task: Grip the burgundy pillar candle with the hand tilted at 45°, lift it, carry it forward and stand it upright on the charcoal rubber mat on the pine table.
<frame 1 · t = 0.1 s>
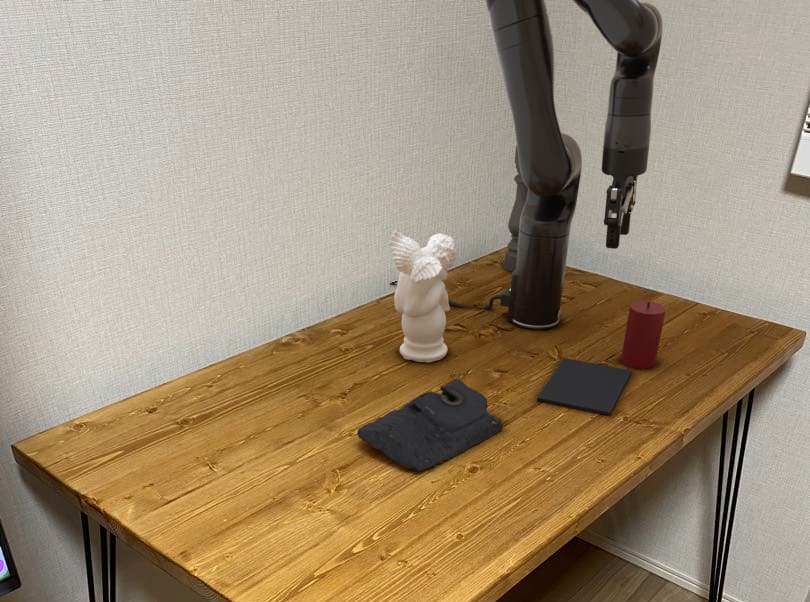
hand: (617, 240, 157), 17 cm above the table, tool pointing down, fingers open, 8 cm apart
candle: (637, 361, 157), on the table
candle holder: (518, 268, 196), on the table
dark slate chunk: (428, 434, 135), on the table
mat: (585, 386, 148), on the table
cherub figurine: (423, 358, 157), on the table
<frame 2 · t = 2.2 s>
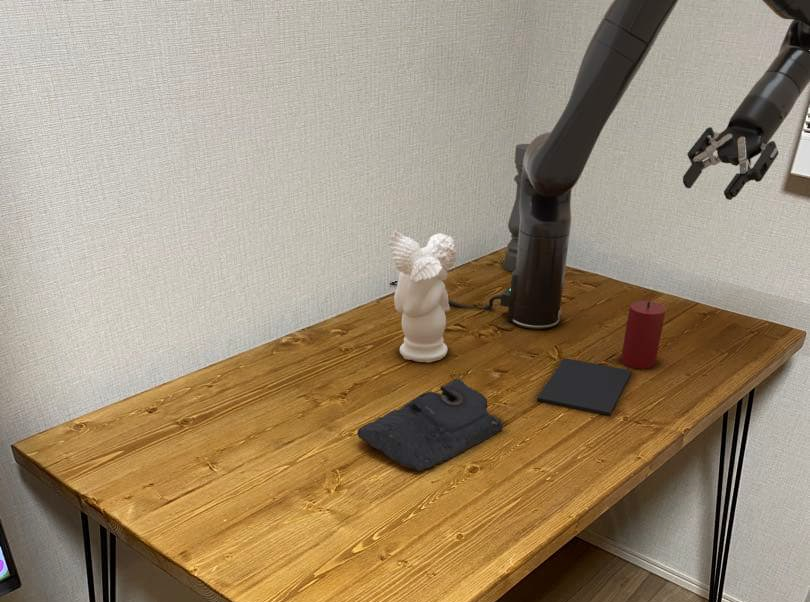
hand: (706, 190, 149), 27 cm above the table, tool tilted 45°, fingers open, 8 cm apart
nothing on the table moved.
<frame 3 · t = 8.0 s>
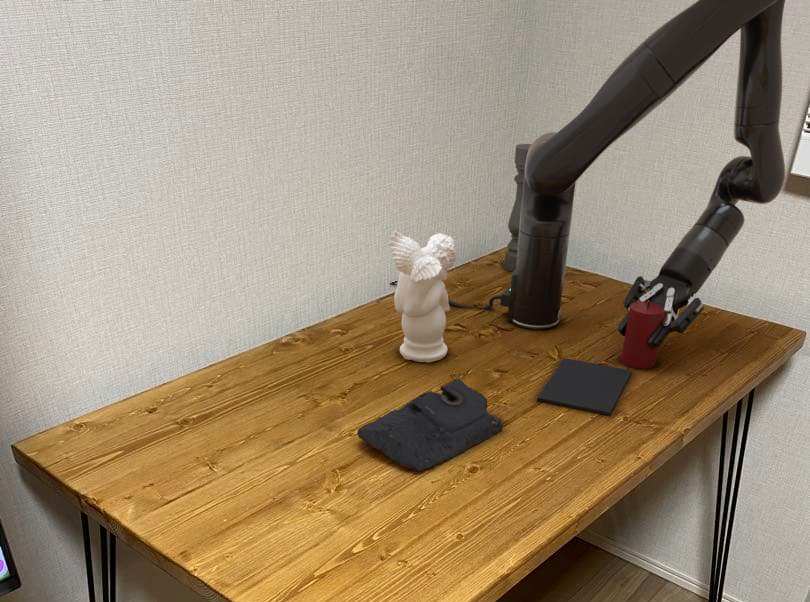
hand: (635, 339, 153), 5 cm above the table, tool tilted 45°, fingers closed on candle, 6 cm apart
candle: (637, 361, 157), on the table, touching gripper
everything else where it was.
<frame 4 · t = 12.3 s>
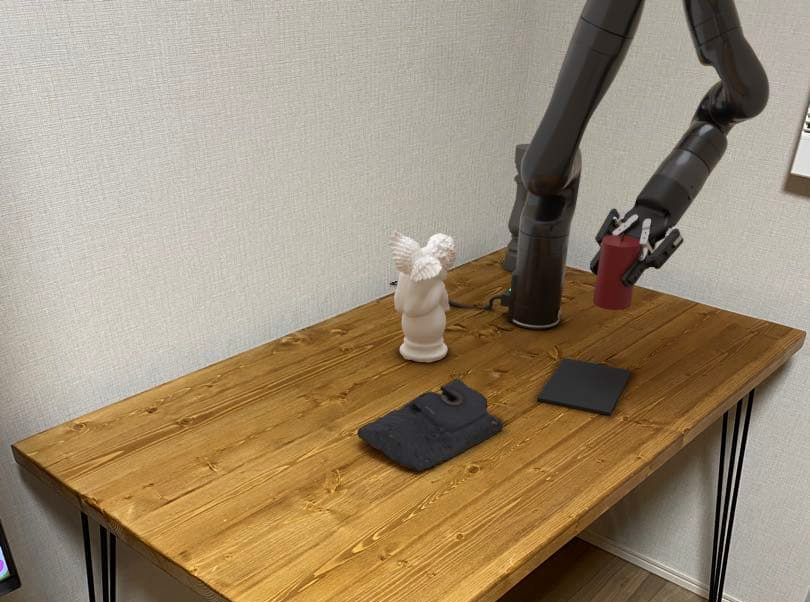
hand: (609, 277, 139), 18 cm above the table, tool tilted 45°, fingers closed on candle, 6 cm apart
candle: (611, 303, 142), point 14 cm above the table, touching gripper
everything else where it was.
when the fingers open (5 cm above the table, at t = 16.8 s): candle stays where it is, resting on mat.
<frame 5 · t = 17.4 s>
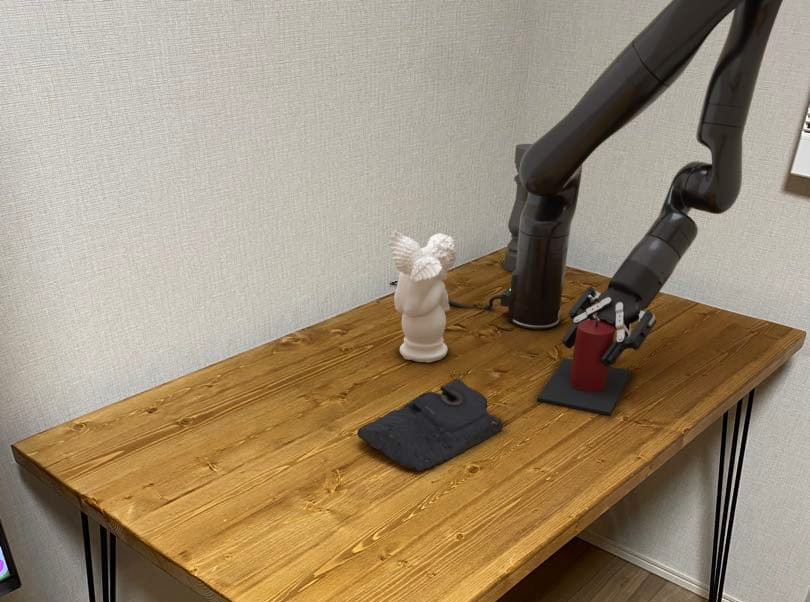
hand: (584, 354, 144), 6 cm above the table, tool tilted 45°, fingers open, 8 cm apart
candle: (587, 383, 148), point 1 cm above the table, touching mat
everything else where it was.
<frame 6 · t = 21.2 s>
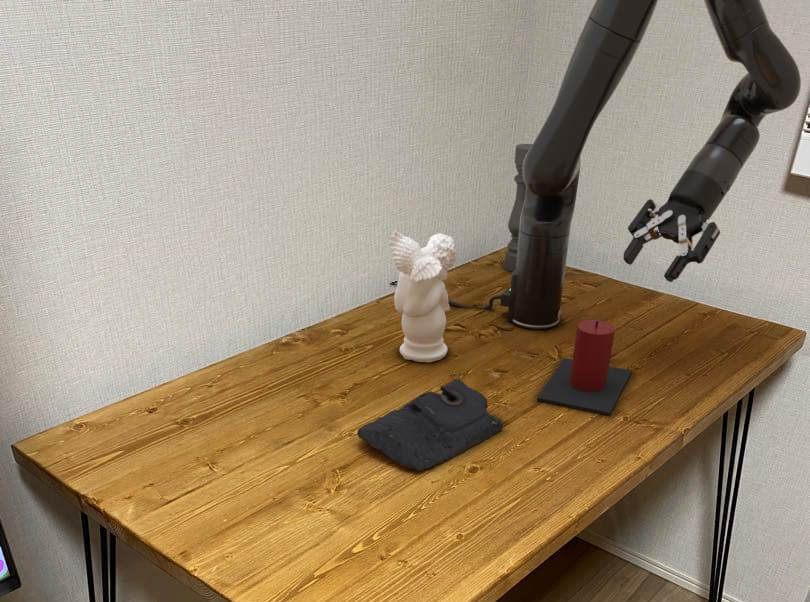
hand: (646, 270, 144), 17 cm above the table, tool tilted 40°, fingers open, 8 cm apart
nothing on the table moved.
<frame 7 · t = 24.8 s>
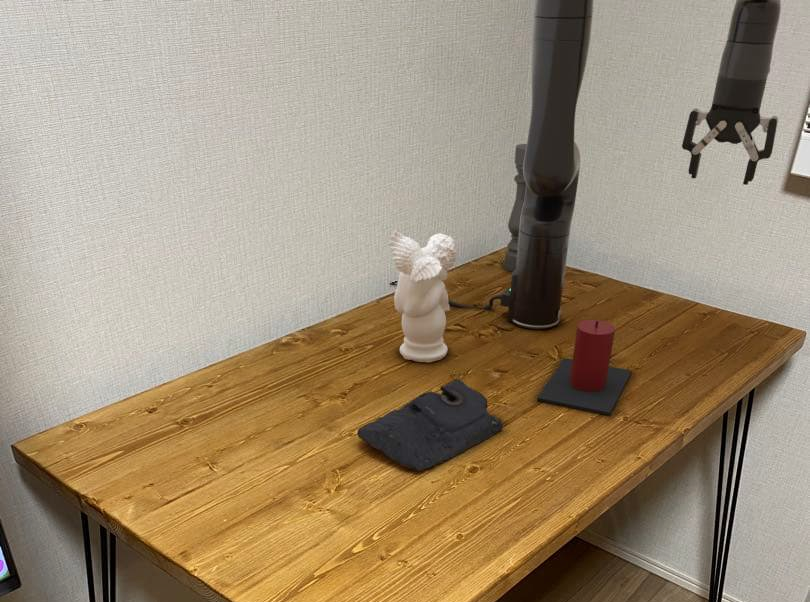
hand: (719, 180, 150), 28 cm above the table, tool pointing down, fingers open, 8 cm apart
nothing on the table moved.
at the end: candle inside the target area on the mat (0.2 cm from its centre), point 0.6 cm above the mat's base; candle tilted 0°; the gripper is holding nothing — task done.
